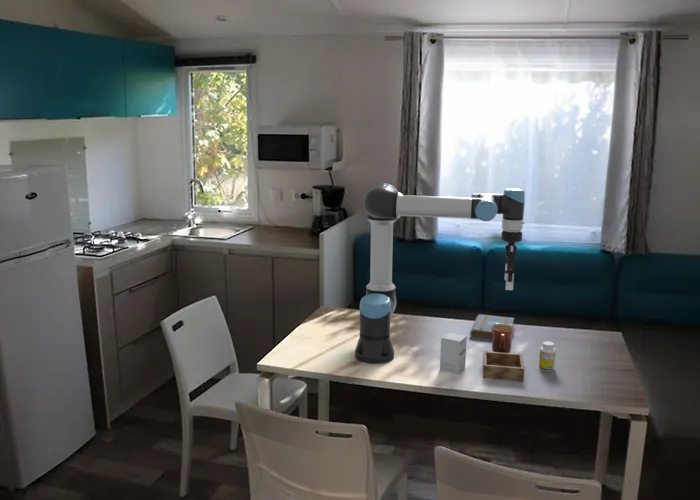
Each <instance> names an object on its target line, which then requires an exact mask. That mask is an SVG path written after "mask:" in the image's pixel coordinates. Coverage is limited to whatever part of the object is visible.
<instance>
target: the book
mask: <svg viewBox="0 0 700 500" xmlns="http://www.w3.org/2000/svg"><path fill="white" fill-rule="evenodd" d="M514 320H515V318H514V317H508V316H498V315H489V314H478V315H477V316H476V318H475V321H474V322H473V324H472V327H471V329H470V332H469V336H470V337H471V338H472V339H477V340H478V339H479V340H485V341H492V338H493V333H492V329H491V326H492V325H495V324H506V325H510V326H512V327H513V326H515V325H514Z"/></svg>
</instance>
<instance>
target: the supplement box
mask: <svg viewBox="0 0 700 500" xmlns="http://www.w3.org/2000/svg"><path fill="white" fill-rule="evenodd" d="M440 338H441V339H440V357H439V370H440V371H442V372H443V371H444V372H447V373H451V374H454V375H458V374H460V372H461V371H463V370H464V369H465V368H466V361H467V360H466V359H467V357H466V356H467V340H468V339H467V338H468V336H467V335H463V334H460V333H459V334H458V333H453V332H448V333H446V334H445V335H443V336H442V337H440Z"/></svg>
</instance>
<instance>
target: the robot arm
mask: <svg viewBox="0 0 700 500" xmlns="http://www.w3.org/2000/svg"><path fill="white" fill-rule="evenodd" d="M503 190H504V191H503V193H486V192H484V193H483V192H476V193H475V192H474V193H472V194H471V197H465V196H464V197H462V196H461V197H458V196H436V195H435V196H434V195H433V196H432V195H412V194H409V195H407V194H404V195H403V194H402V193H401V192H400V191H398V190H397V189H396V187H395V186H393V185H391V184H389V183H384V182H383V183H377V184H375V185H374V186H372V187H371V188H370V189H369V190H368V191H367V192H366V193H365V195H364V197H363V203H362V204H363V207H364V210H365V212H366V215H367V217H366V220H368V222H369V223H370V267H369V271H370V272H369V274H370V275H369V276H370V278H369V279H370V280H369V283H368V284H366V286H365V288H366V289H365V290H366V291H365V292H366V293H365V295H364V296H363V297H361V299H360V302H359V338H358V340H357V344H356V347H355V349H354V357H355V359H356V360H358V361H360V362H362V363H366V364H375V365H376V364H384V363H385V364H386V363H388V362H391V361H393V359H394V358H395V349H394V346H393V342H392V340H391V319H392V317H393V314H394V312H395V311H396V309H397V304H398V300H397V296H396V289H397V288H396V285H395V284H394V283H393V248H394V247H393V241H394V240H393V239H394V224H395V222H396V221H397V220H398V219H400V218H401V217H420V218H421V217H425V218H445V219H447V218H449V219H470V220H471V219H472V220H480V221H481V222H490V221H492V220H493V219H495V217H496V216H497V215H502V219H501V221H502V222H501V229H502V230H501V237H500V238H501V241H503V242H506V243H505V247H504V248H505V265H504V266H505V267H504V281H505V290H506V291H514V280H515V266H516V265H515V264H516V256H517V247H518V246H517V244H516V243H520V242H522V240H523V231H522V230H523V228H524V225H525V224H526V223H525V221H524V215H525V203H526V201H525V198H526V197H525V193H526V192H525V190H523V189H521V188H514V187H513V188H511V187H510V188H505V189H503Z"/></svg>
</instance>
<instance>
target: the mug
mask: <svg viewBox="0 0 700 500" xmlns="http://www.w3.org/2000/svg"><path fill="white" fill-rule="evenodd" d="M491 329H492V333H493V338H492V340H491V352H501V353H511V351H512V341H513V340H512V337H513V334H514V331H515V327H512V326H510V325H506V324H495V325H492V326H491Z"/></svg>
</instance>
